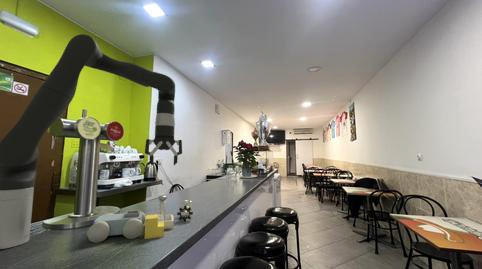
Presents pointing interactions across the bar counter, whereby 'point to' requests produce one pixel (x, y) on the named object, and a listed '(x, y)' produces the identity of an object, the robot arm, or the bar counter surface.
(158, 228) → the block
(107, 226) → the trolley
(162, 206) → the pin
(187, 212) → the valve
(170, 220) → the tray
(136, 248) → the bar counter surface
